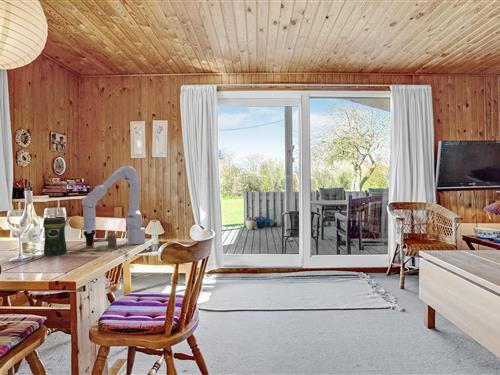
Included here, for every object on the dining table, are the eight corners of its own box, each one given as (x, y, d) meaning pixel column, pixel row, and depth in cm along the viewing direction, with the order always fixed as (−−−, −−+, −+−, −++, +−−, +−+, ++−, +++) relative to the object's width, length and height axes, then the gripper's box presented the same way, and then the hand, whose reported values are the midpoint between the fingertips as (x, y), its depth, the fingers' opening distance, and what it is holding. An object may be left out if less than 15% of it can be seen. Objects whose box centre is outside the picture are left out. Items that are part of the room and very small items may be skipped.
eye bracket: (116, 245, 189) (116, 232, 188) (117, 249, 178) (117, 235, 177) (82, 247, 182) (82, 234, 182) (81, 252, 171) (81, 238, 171)
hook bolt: (115, 244, 184) (115, 234, 184) (115, 246, 181) (115, 235, 181) (86, 247, 179) (86, 236, 178) (85, 248, 175) (85, 237, 175)
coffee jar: (67, 251, 171) (67, 215, 171) (64, 255, 164) (64, 216, 164) (45, 253, 168) (45, 215, 168) (41, 256, 161) (41, 217, 160)
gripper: (81, 218, 182) (81, 243, 183) (80, 221, 169) (80, 248, 169) (96, 217, 185) (96, 242, 186) (95, 220, 172) (96, 247, 172)
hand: (89, 245), depth 178 cm, fingers closed on hook bolt, 4 cm apart
